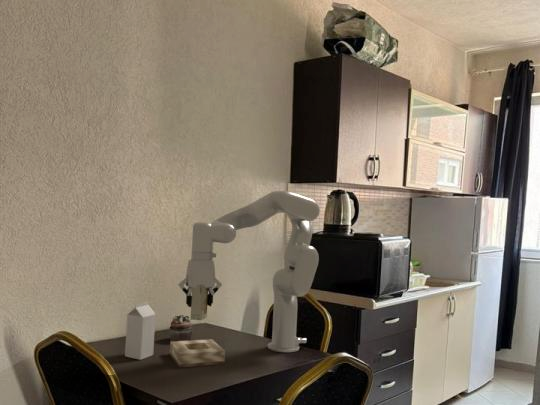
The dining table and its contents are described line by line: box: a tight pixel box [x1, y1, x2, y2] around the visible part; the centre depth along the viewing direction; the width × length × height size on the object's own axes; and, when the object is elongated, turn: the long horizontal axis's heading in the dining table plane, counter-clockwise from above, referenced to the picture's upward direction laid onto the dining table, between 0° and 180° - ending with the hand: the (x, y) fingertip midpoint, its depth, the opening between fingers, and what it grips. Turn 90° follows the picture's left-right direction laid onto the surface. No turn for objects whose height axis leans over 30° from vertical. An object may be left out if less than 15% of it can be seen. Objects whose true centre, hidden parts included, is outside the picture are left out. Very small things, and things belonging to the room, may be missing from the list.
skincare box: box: [189, 286, 209, 322], centre depth 175 cm, size 6×4×12 cm
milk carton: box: [124, 301, 156, 361], centre depth 175 cm, size 7×7×19 cm
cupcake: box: [168, 314, 194, 342], centre depth 198 cm, size 10×10×10 cm
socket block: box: [169, 338, 226, 368], centre depth 175 cm, size 16×16×4 cm
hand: (199, 305), depth 175 cm, fingers closed on skincare box, 6 cm apart
